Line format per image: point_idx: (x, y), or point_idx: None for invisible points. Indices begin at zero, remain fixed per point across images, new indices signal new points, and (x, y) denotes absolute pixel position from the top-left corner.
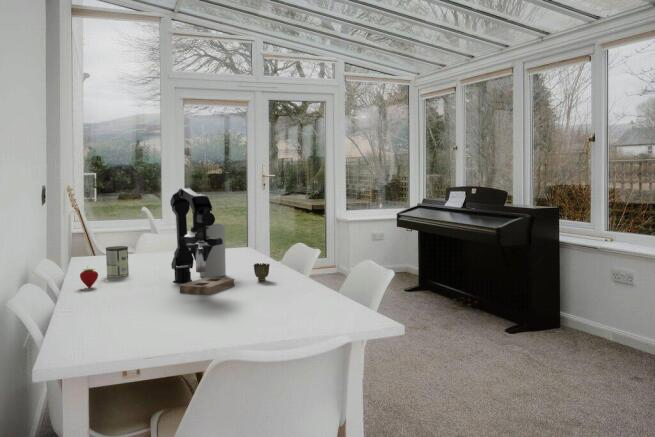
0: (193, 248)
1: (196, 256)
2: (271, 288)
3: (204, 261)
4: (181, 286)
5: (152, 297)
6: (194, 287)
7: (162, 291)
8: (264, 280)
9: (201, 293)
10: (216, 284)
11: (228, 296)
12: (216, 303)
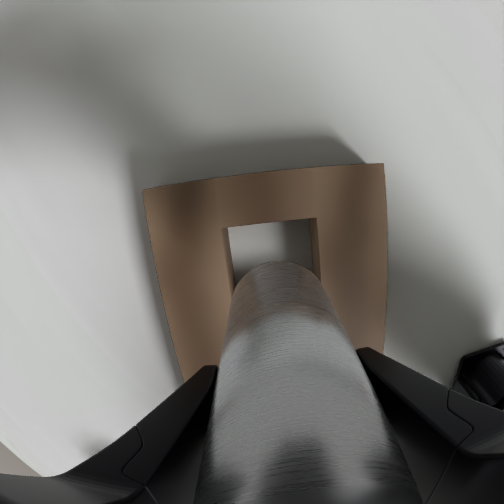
0: (467, 466)
1: (328, 356)
2: (48, 407)
3: (214, 367)
4: (366, 164)
5: (399, 15)
6: (256, 173)
7: (461, 154)
8: None
9: (204, 179)
10: (167, 300)
11: (51, 211)
12: (24, 75)
